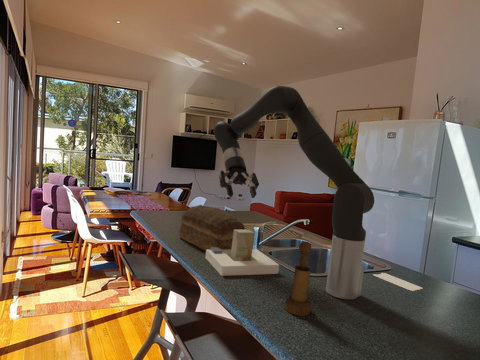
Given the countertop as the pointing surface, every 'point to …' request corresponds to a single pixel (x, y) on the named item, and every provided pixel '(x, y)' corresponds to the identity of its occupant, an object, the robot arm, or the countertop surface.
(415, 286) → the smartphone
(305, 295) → the brown wooden tall piece
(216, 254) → the socket plate
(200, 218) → the bread
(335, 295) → the robot arm
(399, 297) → the countertop surface
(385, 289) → the countertop surface
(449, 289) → the countertop surface
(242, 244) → the skincare box
